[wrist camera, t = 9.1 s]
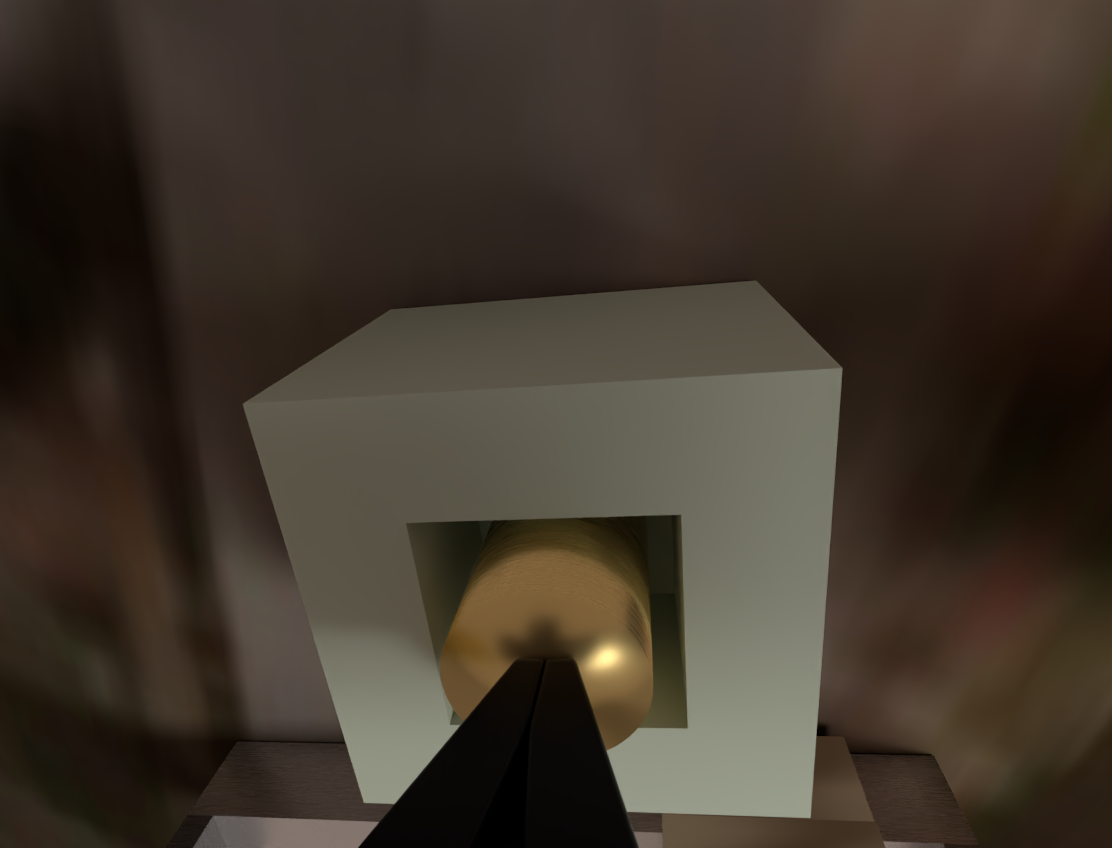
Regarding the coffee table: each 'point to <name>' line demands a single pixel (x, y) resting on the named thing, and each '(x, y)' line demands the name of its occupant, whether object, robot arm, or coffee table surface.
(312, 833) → the rail
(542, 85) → the coffee table surface
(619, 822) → the robot arm
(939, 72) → the coffee table surface
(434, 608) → the cabinet
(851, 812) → the carriage
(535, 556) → the button
